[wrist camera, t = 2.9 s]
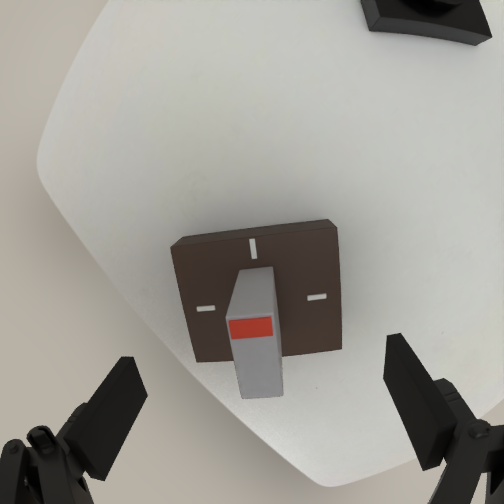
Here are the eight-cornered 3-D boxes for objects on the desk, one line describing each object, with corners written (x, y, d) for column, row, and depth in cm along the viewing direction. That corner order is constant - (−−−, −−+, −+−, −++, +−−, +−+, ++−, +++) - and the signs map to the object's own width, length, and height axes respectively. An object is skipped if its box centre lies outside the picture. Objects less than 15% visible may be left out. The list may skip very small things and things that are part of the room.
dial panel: (204, 342, 28) (196, 364, 25) (182, 236, 26) (169, 247, 22) (334, 329, 27) (342, 350, 24) (328, 218, 25) (337, 227, 21)
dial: (280, 333, 24) (283, 399, 16) (249, 336, 24) (241, 402, 17) (272, 265, 22) (273, 314, 15) (239, 269, 23) (224, 319, 15)
